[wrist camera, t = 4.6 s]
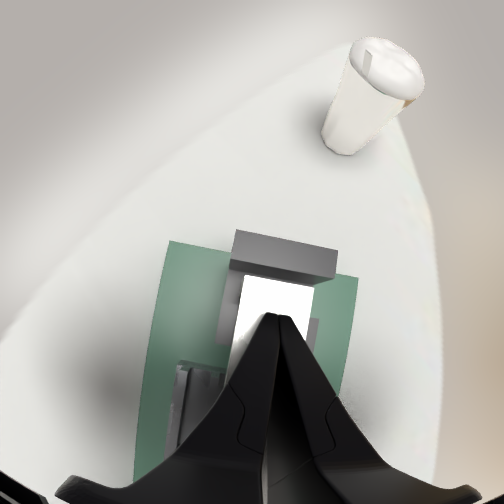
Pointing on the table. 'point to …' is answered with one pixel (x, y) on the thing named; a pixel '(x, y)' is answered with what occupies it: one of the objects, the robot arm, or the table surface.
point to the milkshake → (370, 93)
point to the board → (204, 332)
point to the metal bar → (251, 312)
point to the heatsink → (191, 400)
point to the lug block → (272, 274)
